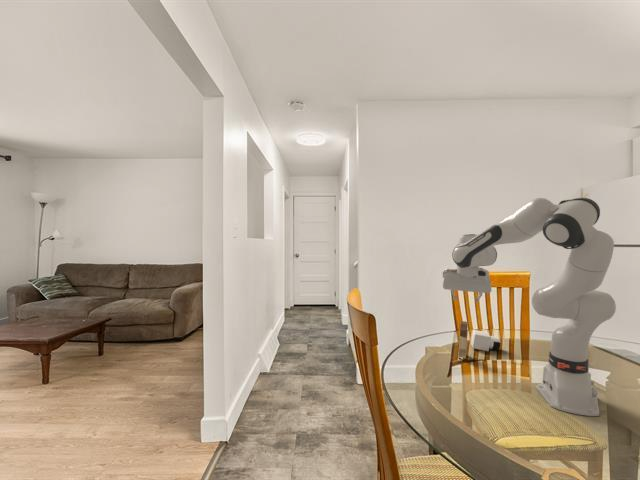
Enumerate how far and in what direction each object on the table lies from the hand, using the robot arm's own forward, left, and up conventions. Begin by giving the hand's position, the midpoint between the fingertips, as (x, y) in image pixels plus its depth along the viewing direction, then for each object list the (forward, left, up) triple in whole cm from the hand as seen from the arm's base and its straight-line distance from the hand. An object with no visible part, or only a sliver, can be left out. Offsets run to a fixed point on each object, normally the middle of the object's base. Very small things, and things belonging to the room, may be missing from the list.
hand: (465, 300), depth 166 cm
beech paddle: (0, 0, -26) cm, 26 cm away
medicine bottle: (+14, -4, -22) cm, 26 cm away
